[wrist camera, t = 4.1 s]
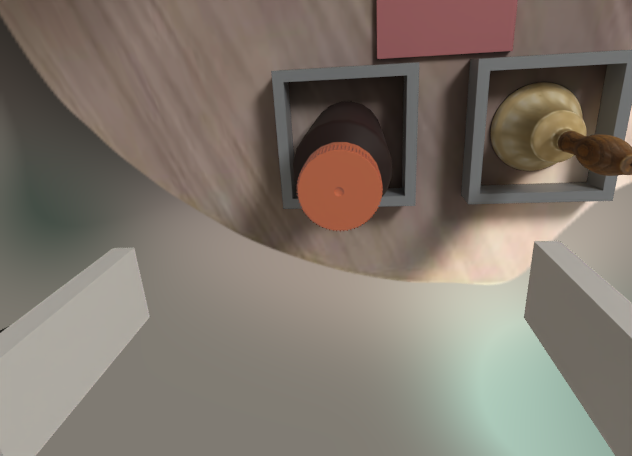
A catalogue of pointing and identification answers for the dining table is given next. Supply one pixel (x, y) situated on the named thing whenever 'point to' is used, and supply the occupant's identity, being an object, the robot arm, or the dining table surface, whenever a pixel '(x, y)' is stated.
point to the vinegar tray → (408, 70)
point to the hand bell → (553, 133)
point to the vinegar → (342, 167)
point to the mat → (444, 27)
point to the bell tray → (617, 98)
